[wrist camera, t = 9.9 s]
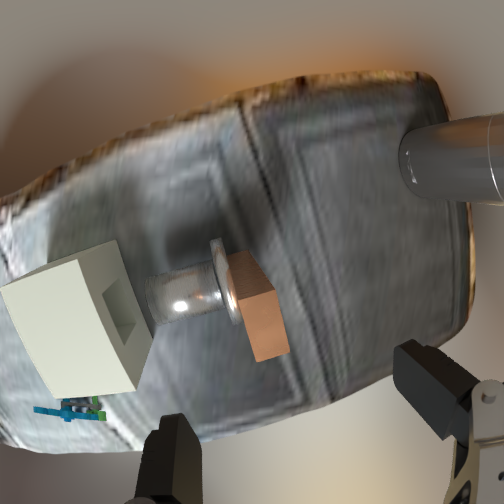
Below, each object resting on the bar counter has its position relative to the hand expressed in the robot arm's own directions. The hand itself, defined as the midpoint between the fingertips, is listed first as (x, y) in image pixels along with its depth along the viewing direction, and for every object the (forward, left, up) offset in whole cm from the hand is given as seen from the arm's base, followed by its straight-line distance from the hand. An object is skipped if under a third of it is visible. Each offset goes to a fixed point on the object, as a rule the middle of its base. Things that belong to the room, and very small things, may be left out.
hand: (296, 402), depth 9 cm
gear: (+27, +13, -22) cm, 37 cm away
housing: (+17, 0, -21) cm, 27 cm away
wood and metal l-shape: (+4, 0, -20) cm, 20 cm away
